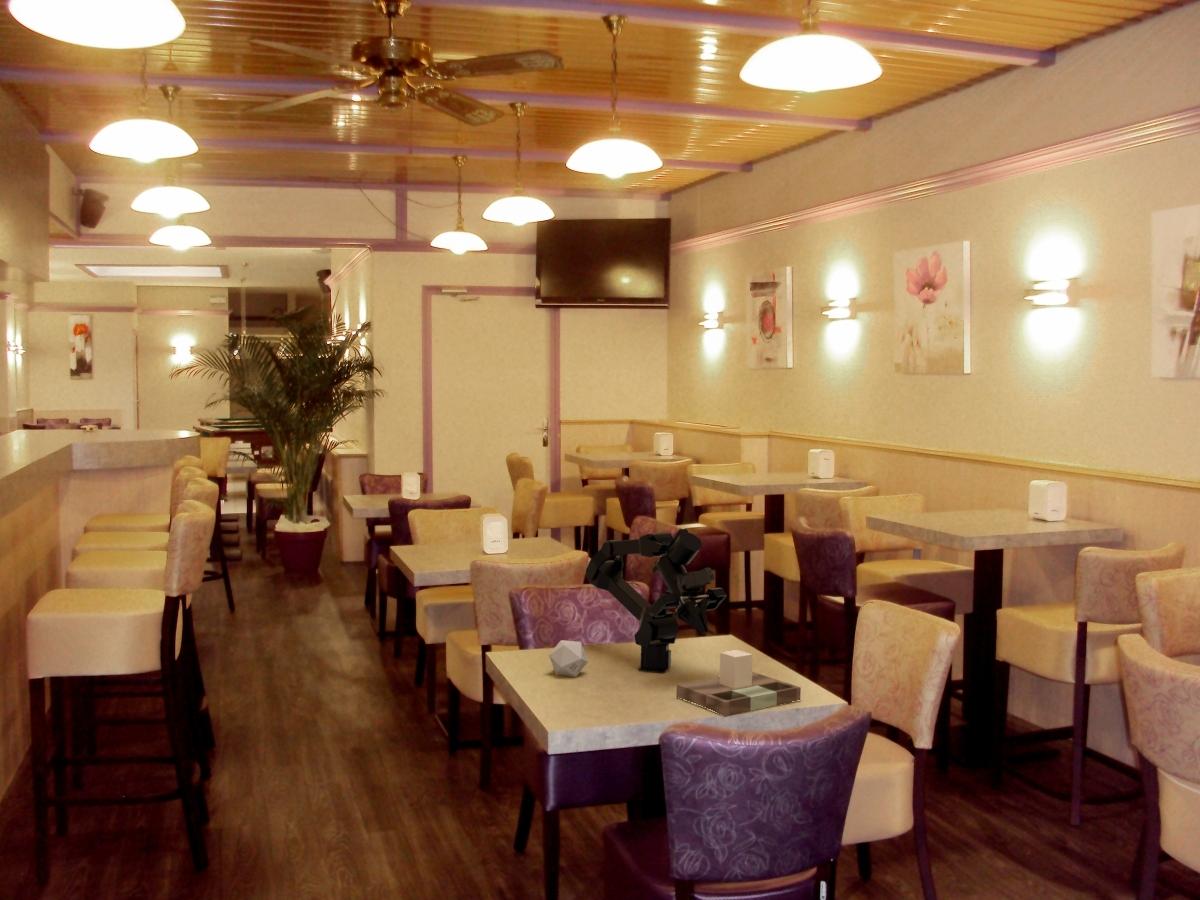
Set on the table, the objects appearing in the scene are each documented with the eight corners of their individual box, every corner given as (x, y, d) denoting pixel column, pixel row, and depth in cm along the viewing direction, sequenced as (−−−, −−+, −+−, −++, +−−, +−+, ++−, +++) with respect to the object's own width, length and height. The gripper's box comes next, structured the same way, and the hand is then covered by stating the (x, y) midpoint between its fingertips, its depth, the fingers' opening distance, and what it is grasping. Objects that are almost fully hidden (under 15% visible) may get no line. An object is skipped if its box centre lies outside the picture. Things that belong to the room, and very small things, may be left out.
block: (719, 683, 241) (720, 652, 240) (736, 680, 244) (737, 649, 243) (734, 689, 237) (735, 657, 236) (751, 685, 239) (752, 654, 239)
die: (563, 684, 252) (588, 650, 252) (536, 661, 255) (562, 628, 256) (574, 688, 259) (599, 655, 260) (549, 665, 263) (573, 634, 263)
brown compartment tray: (676, 697, 240) (676, 684, 240) (750, 683, 252) (750, 671, 252) (724, 716, 227) (725, 702, 226) (800, 700, 239) (800, 687, 239)
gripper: (660, 559, 246) (690, 616, 238) (722, 553, 257) (753, 608, 249) (638, 588, 253) (667, 644, 245) (700, 581, 264) (729, 635, 256)
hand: (705, 632), depth 248 cm, fingers closed
